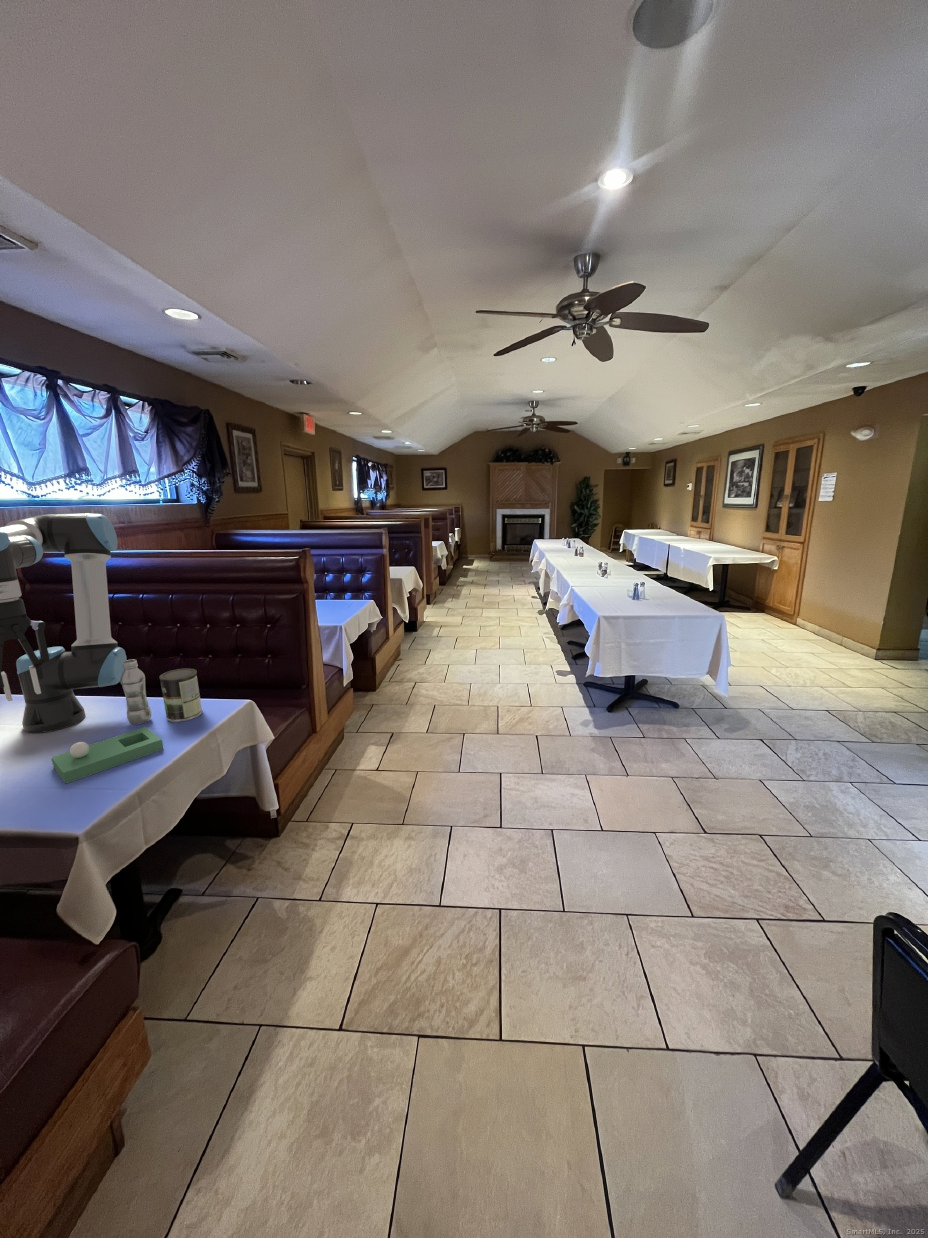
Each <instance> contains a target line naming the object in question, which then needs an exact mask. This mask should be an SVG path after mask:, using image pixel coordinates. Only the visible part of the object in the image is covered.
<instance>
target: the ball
mask: <svg viewBox="0 0 928 1238" xmlns="http://www.w3.org/2000/svg"><path fill="white" fill-rule="evenodd" d="M88 745H89V744H88V743H86V742H84V741H79V742H78V741H77V742H75V743H74V744H72V745H71V746H70V748H69V751H70V754H71V755H72V756H73V757H75V758H81V757H84V756H85V755H87V753H88V752H89V746H88Z"/></svg>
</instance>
